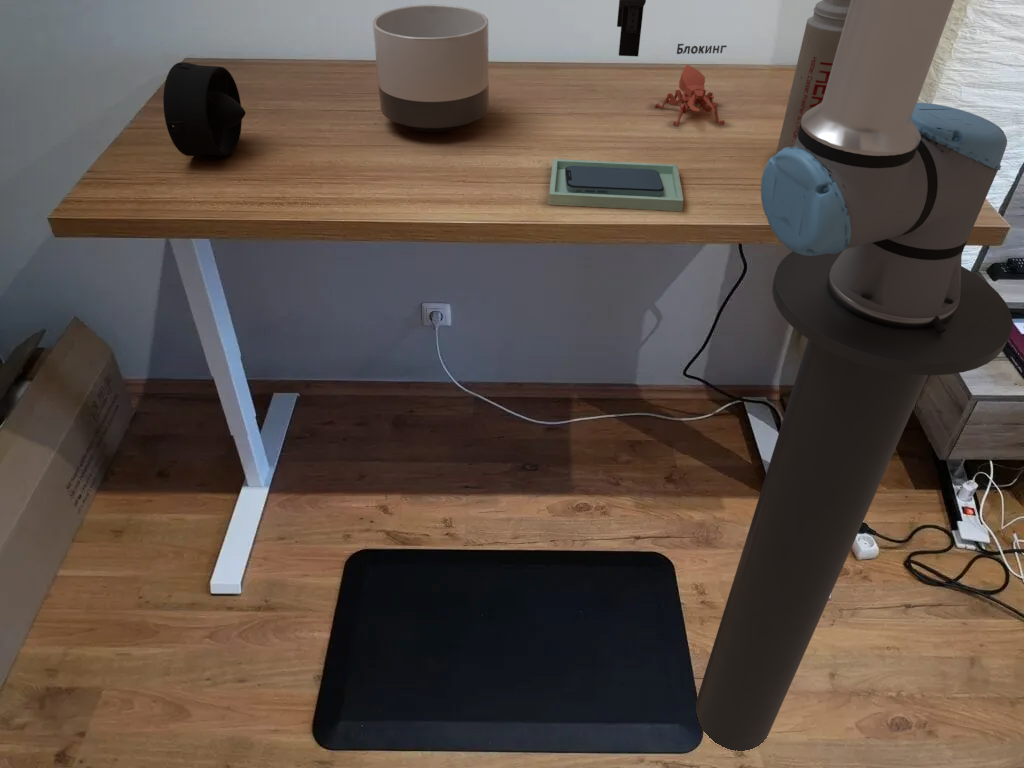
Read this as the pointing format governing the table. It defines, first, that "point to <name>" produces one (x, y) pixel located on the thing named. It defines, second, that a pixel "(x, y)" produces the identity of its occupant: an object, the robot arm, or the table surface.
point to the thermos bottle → (813, 65)
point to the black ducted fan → (202, 110)
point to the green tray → (667, 201)
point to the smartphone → (613, 181)
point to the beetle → (693, 88)
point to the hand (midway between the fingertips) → (627, 40)
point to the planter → (432, 66)
